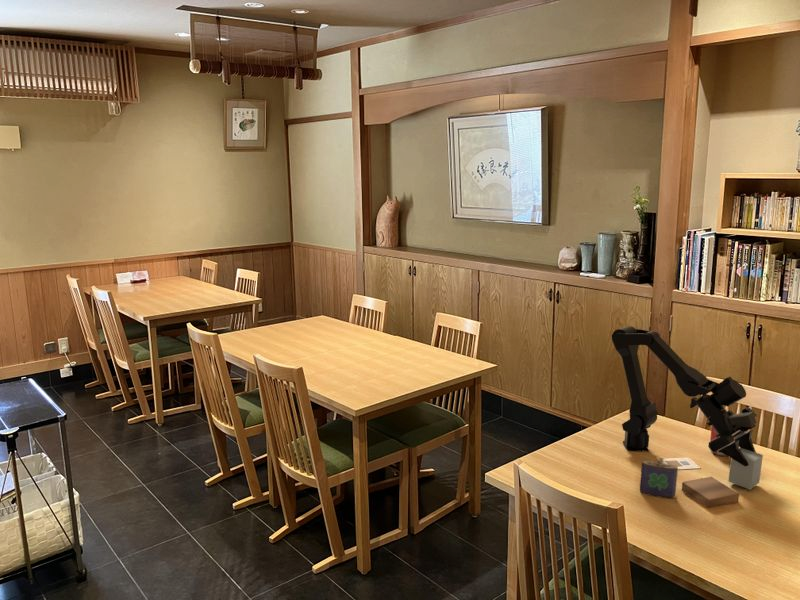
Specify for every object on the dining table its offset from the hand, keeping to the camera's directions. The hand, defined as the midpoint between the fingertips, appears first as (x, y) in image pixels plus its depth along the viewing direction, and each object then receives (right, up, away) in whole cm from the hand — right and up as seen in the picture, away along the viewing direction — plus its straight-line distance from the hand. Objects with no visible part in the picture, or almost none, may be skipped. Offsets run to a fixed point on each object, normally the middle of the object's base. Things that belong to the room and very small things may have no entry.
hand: (751, 462), depth 182 cm
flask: (-27, -9, -2) cm, 29 cm away
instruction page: (-14, -4, +15) cm, 21 cm away
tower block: (-1, -6, +3) cm, 7 cm away
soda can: (+3, -3, +23) cm, 23 cm away
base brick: (-13, -9, -3) cm, 16 cm away
